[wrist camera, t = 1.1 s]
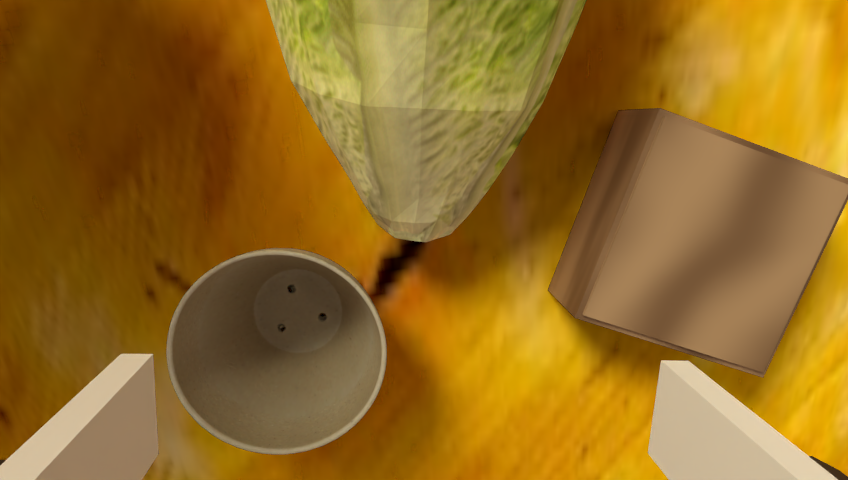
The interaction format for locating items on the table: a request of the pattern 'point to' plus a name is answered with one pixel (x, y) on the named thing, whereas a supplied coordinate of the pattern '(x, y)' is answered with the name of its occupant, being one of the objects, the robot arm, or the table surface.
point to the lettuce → (423, 94)
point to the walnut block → (696, 239)
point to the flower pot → (276, 351)
